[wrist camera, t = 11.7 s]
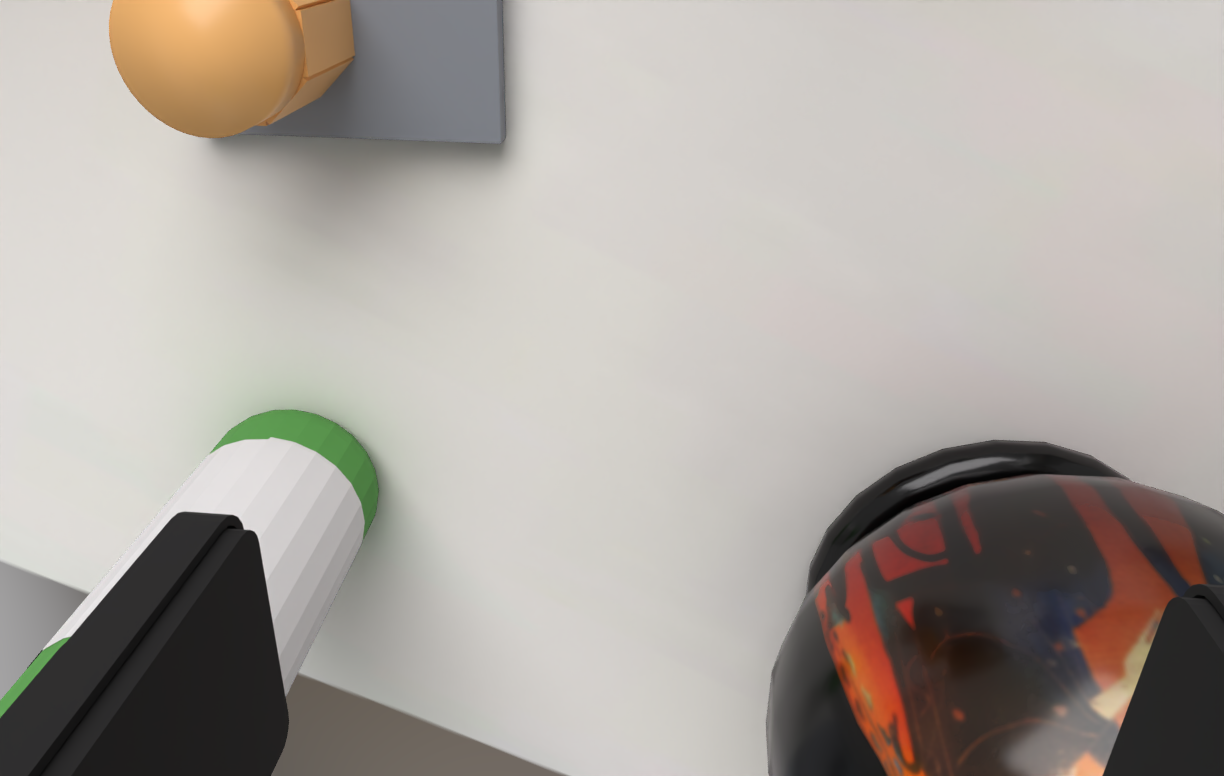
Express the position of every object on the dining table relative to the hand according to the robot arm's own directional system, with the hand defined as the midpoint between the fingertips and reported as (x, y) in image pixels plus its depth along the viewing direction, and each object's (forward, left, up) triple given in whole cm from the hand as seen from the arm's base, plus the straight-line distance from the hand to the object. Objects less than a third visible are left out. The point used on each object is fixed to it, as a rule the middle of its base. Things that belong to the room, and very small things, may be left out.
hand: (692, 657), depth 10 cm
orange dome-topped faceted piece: (+15, -3, -29) cm, 32 cm away
